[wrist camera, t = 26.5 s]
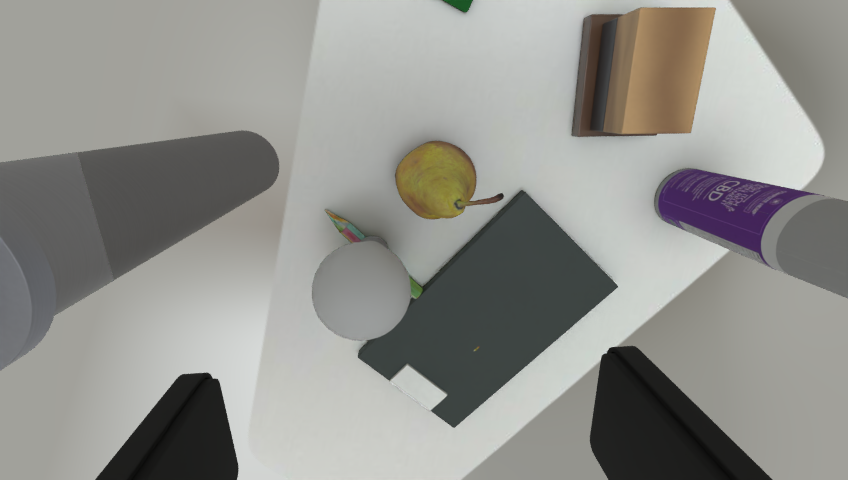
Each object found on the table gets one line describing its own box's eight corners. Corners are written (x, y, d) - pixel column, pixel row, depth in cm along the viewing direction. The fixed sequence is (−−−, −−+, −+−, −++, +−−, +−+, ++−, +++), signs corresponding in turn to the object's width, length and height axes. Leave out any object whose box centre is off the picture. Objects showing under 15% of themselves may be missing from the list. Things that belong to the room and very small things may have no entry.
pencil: (320, 213, 31) (471, 347, 36) (317, 217, 30) (473, 355, 35) (331, 202, 31) (481, 339, 36) (329, 205, 30) (484, 346, 35)
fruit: (410, 126, 29) (414, 137, 18) (480, 153, 30) (526, 180, 19) (386, 195, 31) (375, 246, 19) (453, 219, 32) (481, 280, 20)
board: (452, 420, 38) (454, 428, 37) (358, 350, 35) (357, 357, 34) (612, 281, 34) (618, 286, 33) (521, 189, 31) (525, 192, 30)
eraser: (589, 130, 29) (621, 134, 25) (602, 23, 27) (640, 7, 22) (648, 129, 29) (691, 133, 25) (666, 23, 27) (716, 7, 22)
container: (675, 158, 31) (905, 200, 17) (722, 181, 32) (979, 241, 18) (643, 211, 32) (831, 292, 18) (688, 232, 33) (902, 325, 19)
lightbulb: (345, 286, 33) (316, 369, 23) (328, 218, 31) (286, 274, 21) (416, 274, 33) (419, 352, 23) (403, 205, 31) (399, 255, 21)
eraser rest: (571, 135, 30) (578, 136, 29) (583, 18, 27) (591, 14, 26) (647, 134, 30) (657, 135, 29) (666, 17, 28) (678, 14, 27)
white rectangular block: (429, 409, 36) (429, 411, 36) (389, 379, 35) (389, 381, 35) (447, 393, 36) (447, 395, 36) (407, 362, 35) (407, 364, 34)
